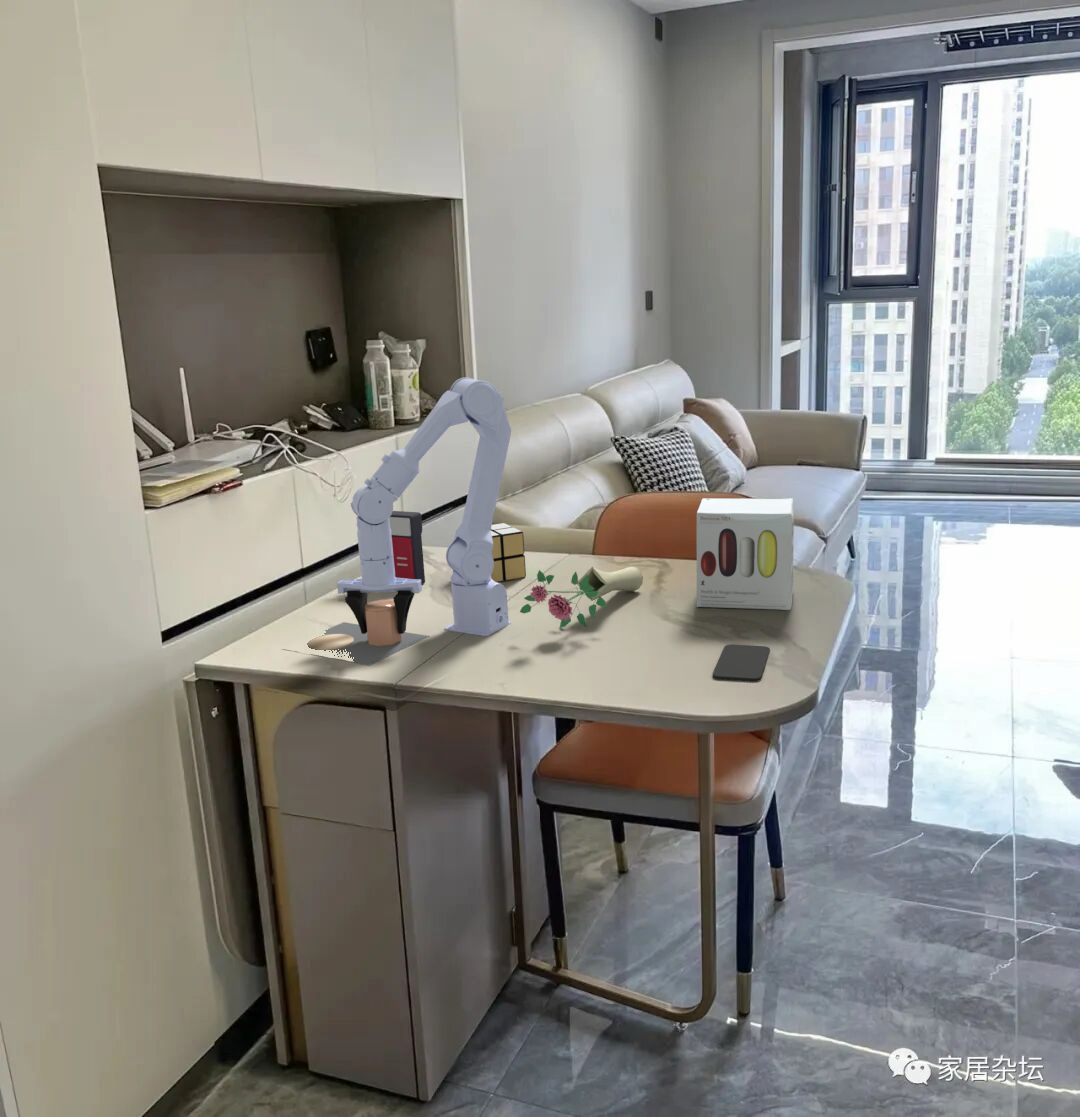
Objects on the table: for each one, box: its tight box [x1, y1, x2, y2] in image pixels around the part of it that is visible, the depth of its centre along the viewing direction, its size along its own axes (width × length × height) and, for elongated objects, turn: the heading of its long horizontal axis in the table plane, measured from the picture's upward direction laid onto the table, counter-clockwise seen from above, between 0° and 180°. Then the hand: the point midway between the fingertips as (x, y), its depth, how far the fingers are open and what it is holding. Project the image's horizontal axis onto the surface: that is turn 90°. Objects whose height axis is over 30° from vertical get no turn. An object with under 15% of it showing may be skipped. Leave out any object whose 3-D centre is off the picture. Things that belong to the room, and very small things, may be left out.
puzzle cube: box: [491, 522, 527, 583], centre depth 224 cm, size 10×10×10 cm
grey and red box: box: [389, 510, 426, 585], centre depth 222 cm, size 11×4×15 cm, turn 62°
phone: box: [712, 643, 771, 683], centre depth 168 cm, size 7×1×15 cm
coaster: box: [307, 634, 354, 651], centre depth 188 cm, size 8×8×1 cm
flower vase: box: [519, 566, 644, 629], centre depth 195 cm, size 12×12×35 cm
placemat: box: [322, 621, 430, 667], centre depth 187 cm, size 20×16×1 cm
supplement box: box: [696, 497, 795, 611], centre depth 198 cm, size 17×13×18 cm
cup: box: [365, 599, 401, 646], centre depth 187 cm, size 6×6×6 cm
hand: (383, 632), depth 187 cm, fingers closed on cup, 6 cm apart
